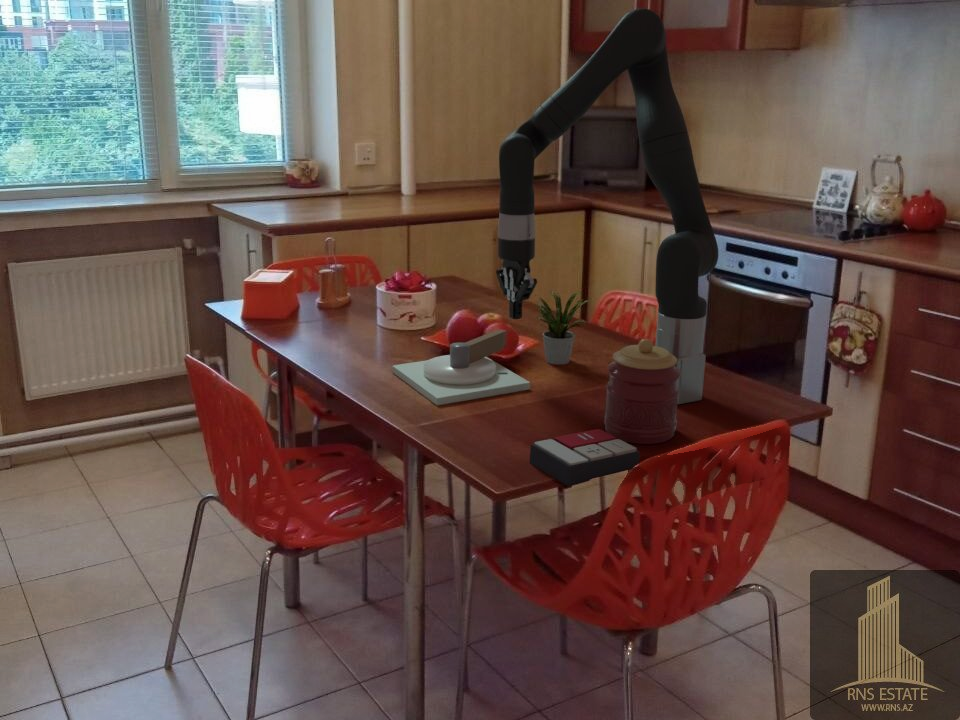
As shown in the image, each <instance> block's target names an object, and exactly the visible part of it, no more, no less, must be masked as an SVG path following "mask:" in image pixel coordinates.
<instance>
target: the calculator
mask: <svg viewBox="0 0 960 720" xmlns="http://www.w3.org/2000/svg"><path fill="white" fill-rule="evenodd" d="M640 455H641V452H640V451H639V450H638V448H637V447H635V446H634V445H632V444H629V442H625V441H622V440H620V439H616V437H614V436H612V435H610V434H608V433H607V432H606V431H604V430H602V429H600V428H597V429H596V428H595V429H590V430H586V431H581V432H576V433H575V432H574V433H570V434H566V435H565V434H564V435H558V436H556V437H555V436H554V439H552V438H549V439H544V440H539V441H535V442H533V443H531V444H530V450H529V464H530V465H532V466H534V467H535V468H537V469H538V470H540V471H542V472H543V473H545V474H547V475H548V476H550V477H551V478H553V479H555V480H556V481H558V482H560V483H561V484H563V485H565V487H572V486H577V485H580V484H583V483H587V482H590V481H591V480H593V479H597V478H601V477H605V476H610V475H614V474H619V473H621V472H625V471H629V470H632V468H633V467H634V466H635V465H637V464H638V463H639V464H640ZM633 469H634V468H633Z"/></svg>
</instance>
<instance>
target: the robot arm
mask: <svg viewBox="0 0 960 720" xmlns="http://www.w3.org/2000/svg"><path fill="white" fill-rule="evenodd" d="M665 29H666V28H665V26H664V22H663V20H662V18H661V17H660V15H659V14H657V12H655V11H654V10H652V9H649V8H645V7H644V8H643V7H641V8H635V9H632V10H630V11H629V12H627V13H626V14H624V15H623V16H622V18H621V19H620V20H619V22H617V24H616V25H615V26H614V28H613V29H612V31H611V32H610V33H609V35H607V37H606V38H605V40H604V41H602V44H601V45H600V46H599V47H598V48H597V49H596V51H595V52H594V53H593V54H592V55H591V56H590V57H589V59H588V60H587V61H586V62H585V63H584V64H583V65H582V66H581V67H580V68H579V69H578V70H577V71H576V72H574V73H573V75H571V76H570V77H569V79H568V80H567V81H566V82H564V83H563V84H562V85H561V86H560V87H559V88H558V89H557V90H556V91H554V93H552V94H551V95H550V96H549V98H547V99H546V100H545V101H544V102H543V103H542V104H541V105H540V106H539V107H538V108H537V109H536V111H534V113H532V115H531V116H530V117H529V118H528V119H527V120H526V121H524V122H523V123H522V124H520V126H518V127H517V128H516V129H515V130H513V132H511V133H510V134H509V135H508V136H507V137H506V138H505V139H504V140H503V142H502V143H501V145H500V146H499V151H498V167H499V168H498V169H499V170H498V171H499V183H500V188H499V190H500V191H499V207H498V208H499V212H498V213H499V217H498V220H497V221H498V224H497V257H498V258H499V259H500V260H501V261H502V263H501V266H502V267H501V268H500V269H495V274H496V278H497V280H498V283H499V286H500V288H501V289H500V290H501V292H502V295H503V296H506V298H507V301H509V303H508V304H509V307H508V308H509V311H508V312H509V315H508V317H509V318H510V319H513V320H519V319H522V317H523V302H524V301H527V300H530V297H531V295H532V294H533V292H534V289H535V288H536V286H537V283H538V280H537V278H535V277H534V278H532V275H531V271H532V270H531V266H530V261H531V260H533V259H534V258H535V254H536V252H535V251H536V219H535V189H534V176H535V161H536V160H535V159H537V157H539V156H540V155H541V154H542V152H544V151H545V150H546V149H547V148H548V147H549V146H550V144H552V143H554V141H556V140H558V139H559V138H561V137H562V136H563V135H564V134H565V133H567V131H569V130H570V128H572V127H573V126H574V125H575V124H576V123H577V122H578V121H579V120H580V119H581V118H582V117H584V115H585V114H586V113H587V112H588V111H589V110H590V109H591V107H592V106H593V105H594V104H595V102H596V101H597V100H598V99H599V98H600V96H601V95H602V94H603V92H604V91H605V90H606V89H607V88H608V87H609V86H610V85H611V84H612V83H613V82H614V81H615V80H617V78H618V77H619V76H621V75H622V74H623V73H624V72H625V71H627V74H628V76H629V80H630V83H631V87H632V91H633V94H634V101H635V116H636V127H637V136H638V143H639V146H640V151H641V154H642V159H643V164H644V167H645V171H646V173H647V176H648V177H649V178H650V180H651V182H652V184H653V185H654V187H655V188H656V189H657V190H658V192H659V194H660V196H662V198H663V200H664V202H666V205H667V206H668V210H669V212H670V215H671V218H672V221H673V222H672V223H673V227H674V231H675V232H674V234H670V235H668V236H666V237H665V238H664V239H663V240H662V242H661V243H660V244H659V247H658V250H657V254H656V259H655V261H656V262H655V299H656V301H657V303H658V307H657V308H658V311H657V321H656V323H657V324H656V335H655V346H657V347H661V348H664V349H666V350H667V351H669V353H671V354H672V355H674V356H675V357H676V358H677V363H676V364H675V366H676V367H677V368H678V369H679V370H680V372H681V376H680V377H679V378H678V379H677V387H678V388H679V394H678V401H677V405H682V404H687V403H693V402H698V401H702V399H703V388H704V377H705V367H706V359H707V358H706V354H704V353H703V349H704V338H705V330H706V329H705V328H706V318H707V310H708V309H707V308H708V304H707V300H706V299H705V298H703V297H702V296H700V295H699V278H700V277H704V276H706V275H708V274H710V273H712V271H714V270H715V268H716V266H717V264H718V260H719V246H718V242H717V239H716V235H715V232H714V229H713V227H712V224H711V223H712V222H711V221H710V217H709V215H708V212H707V209H706V206H705V203H704V198H703V194H702V189H701V186H700V181H699V178H698V177H699V176H698V173H697V169H696V165H695V160H694V154H693V150H692V144H691V140H690V136H689V131H688V128H687V124H686V121H685V118H684V114H683V111H682V108H681V105H680V104H679V101H678V98H677V96H676V93H675V91H674V87H673V84H672V79H671V74H670V73H671V72H670V67H669V60H668V48H667V34H666V31H665Z"/></svg>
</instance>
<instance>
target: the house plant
mask: <svg viewBox="0 0 960 720" xmlns="http://www.w3.org/2000/svg"><path fill="white" fill-rule="evenodd" d="M556 292H557V294H556V293H555V292H554V291H552V290H550V294H551V295H552V296H553V298H554V300H555V302H554V303H555V316H554V314H553V311H552V310H551V307H550V305H548V303H547V302H546V301H545V300H544V299H543V298H541V297H540V296H538V295H536V294H534V296H535V297H537V298H538V299H539V300H540V301H541V302H539V301H537V302H536V304H537V305H538V309H539V312H540V315H536V320H540V321H541V322H543V323H545V324H547V325H548V327H547V326H546V325H544V324H539V325H538V327H543V328H546V329H547V331H546V330H545V331H544V332H543V333H542V338H543V346H544V355H545V360H546V363H548V364H550V365H559V366H560V365H567V364H569V363H570V360H571V356H572V351H573V345H574V340H575V336H576V335H575V333H574V332H572V331H569V330H570V329H572V328H574V327H581V328H584V326H583V325H582V324H580V323H579V324H578V322H582V323H583V322H584V323H586V324H587V322H586V321H585V320H584V319H581V318H580V319H576V320H574V321H573V322H572V323H571V324H570V322H571V320H572V318H573V317H574V316H575V314H576V312H577V313H578V312H579V308H580V307H581V306H582V305H584V304H586V303H587V302H591V301H597V299H595V298H593V299H586V300H584V299H580V300H578V301H576V302H575V304H574V305H573V307H572V308H571V309H570V306H571V305H572V303H573V301H574V300H575V299H578V297H577V295H578V294H580V293H581V290H579V291H576V292H574V293H573V294H572V295H570V297H569V298H568V300H567V302H566V303H565V306H564V307H565V308H564V311H563V310H562V309H563V307H562V299H561V295H560V293H559V292H558V291H556ZM569 309H570V310H569ZM569 324H570V325H569Z"/></svg>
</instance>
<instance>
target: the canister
mask: <svg viewBox="0 0 960 720" xmlns="http://www.w3.org/2000/svg"><path fill="white" fill-rule="evenodd" d="M612 358H613V360H614V361H612V362H611V363H609V365H608V366H607V367H606V370H607V372H608V374H609V381H608V382H607V383H606V385H605V388H606V401H605V402H606V403H605V404H606V405H605V414H604V417H603V419H604V422H603V423H604V425H605V427H604V428H605V429H604V430H605V432H606V433H608V434H610V435H612V436H614V437H616V439H620V440H622V441H624V442H626V443H631V444H637V445H638V444H639V445H654V444H655V445H656V444H661V443H664V442H667V441H669V440H671V439H672V438H674V436H675V431H676V429H677V424H678V423H677V412H678V410H677V409H678V404H677V401H678V394H679V388H678V387H677V379H678V378H679V377H680V376H681V372H680V370H679V369H678V368H677V367H676V366H675V364H676V363H677V358H676V357H675V356H674V355H672V354H671V353H669V351H667V350H666V349H664V348H661V347H657V346H656V345H654V343H653V341H652V340H651V339H650V338H642V339H641V340H639V342H638V344H630V345H627V346H624V347H623V348H621V349H619V350H617V351H615V352H614V353H613V355H612Z"/></svg>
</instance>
